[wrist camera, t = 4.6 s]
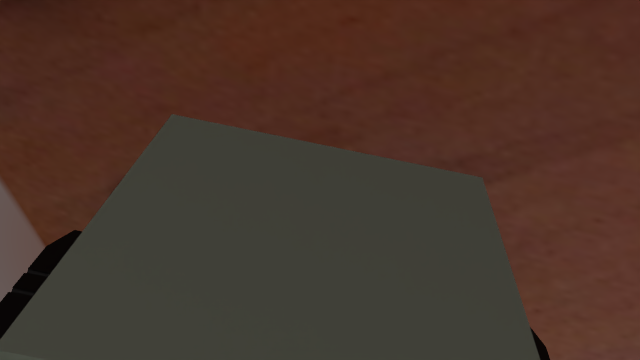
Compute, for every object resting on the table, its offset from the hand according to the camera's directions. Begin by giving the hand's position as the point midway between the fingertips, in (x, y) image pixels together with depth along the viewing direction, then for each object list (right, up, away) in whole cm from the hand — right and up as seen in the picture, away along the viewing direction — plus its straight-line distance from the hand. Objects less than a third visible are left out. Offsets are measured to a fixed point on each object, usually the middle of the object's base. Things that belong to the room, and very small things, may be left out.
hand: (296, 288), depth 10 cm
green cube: (0, 0, +1) cm, 1 cm away
